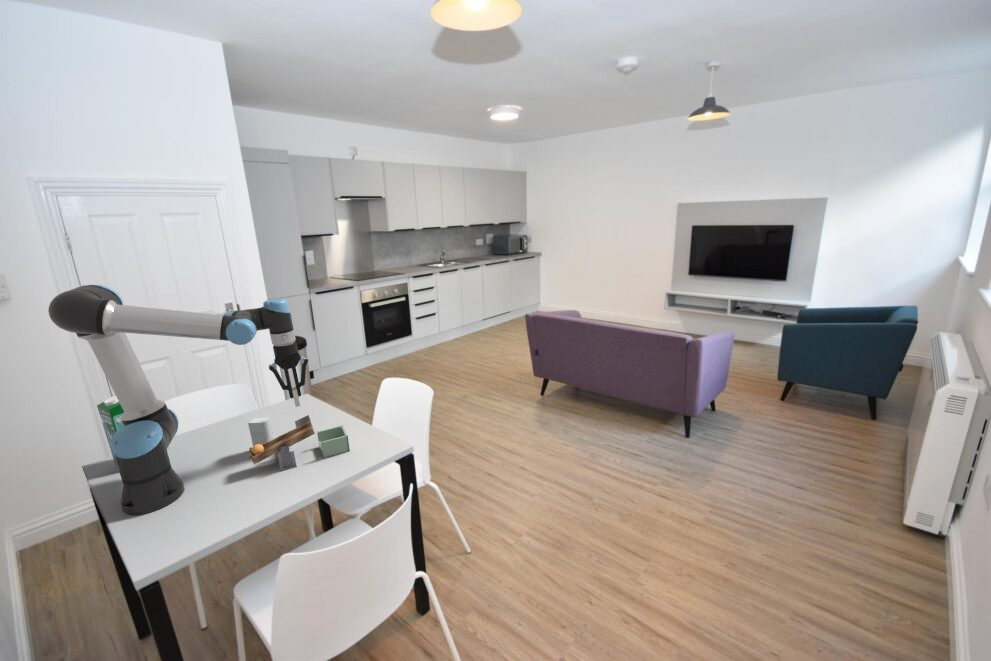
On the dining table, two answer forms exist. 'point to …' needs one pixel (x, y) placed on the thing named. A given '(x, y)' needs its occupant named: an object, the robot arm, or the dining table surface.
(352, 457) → the dining table surface
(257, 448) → the ball
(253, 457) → the lever
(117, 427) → the milk carton
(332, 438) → the bin
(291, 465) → the fulcrum
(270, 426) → the skincare box
